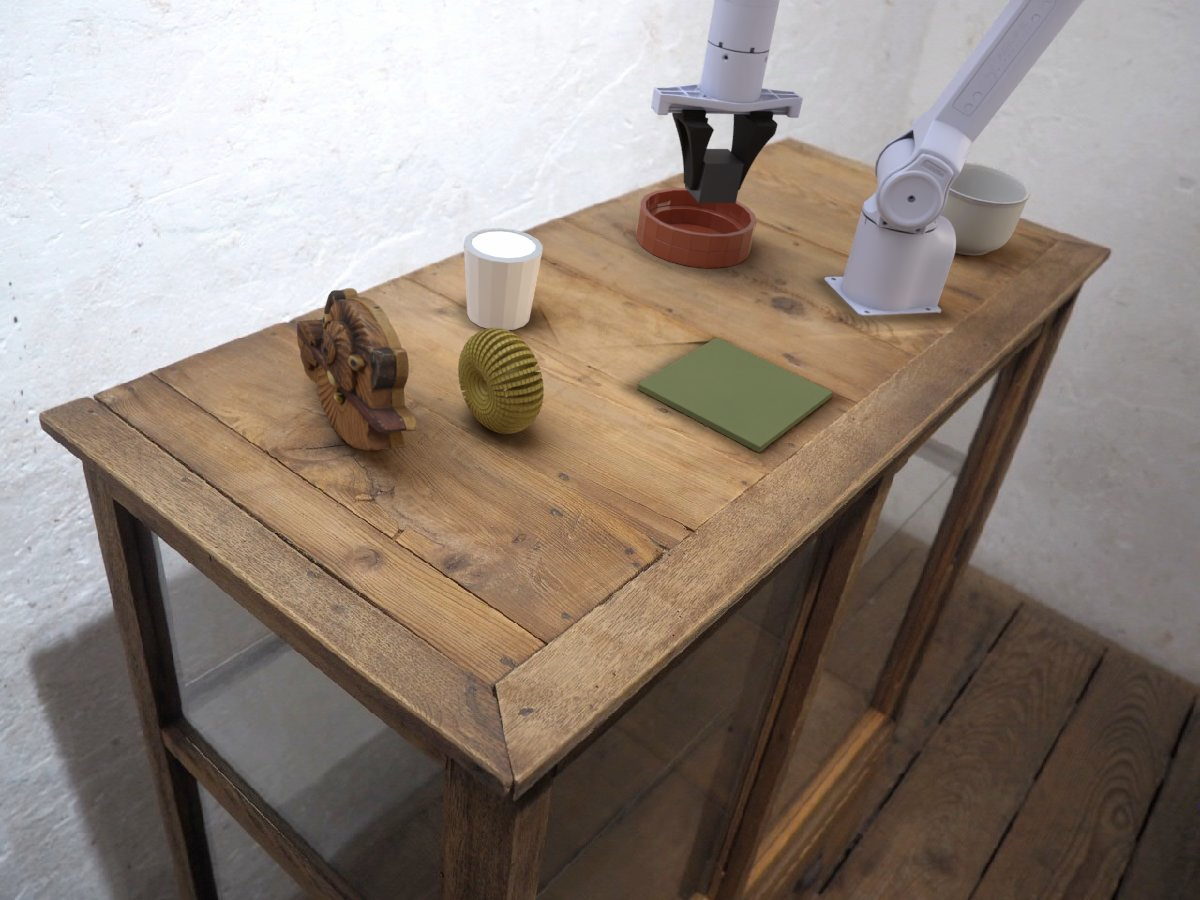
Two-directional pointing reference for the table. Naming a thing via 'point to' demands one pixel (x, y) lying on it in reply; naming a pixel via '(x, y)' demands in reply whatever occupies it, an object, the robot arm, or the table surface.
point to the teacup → (984, 207)
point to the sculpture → (500, 380)
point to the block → (718, 177)
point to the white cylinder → (501, 277)
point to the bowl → (694, 229)
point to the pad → (736, 393)
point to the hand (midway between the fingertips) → (712, 186)
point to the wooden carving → (358, 371)
